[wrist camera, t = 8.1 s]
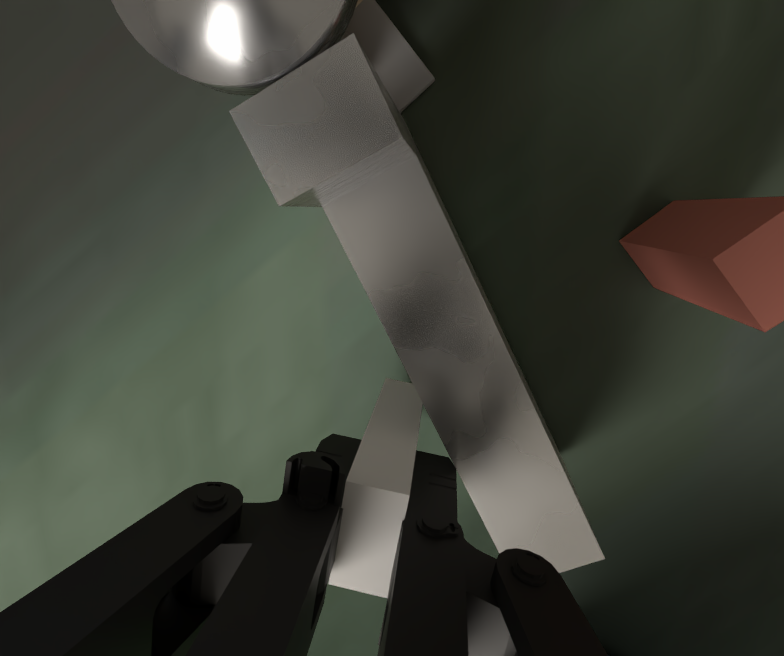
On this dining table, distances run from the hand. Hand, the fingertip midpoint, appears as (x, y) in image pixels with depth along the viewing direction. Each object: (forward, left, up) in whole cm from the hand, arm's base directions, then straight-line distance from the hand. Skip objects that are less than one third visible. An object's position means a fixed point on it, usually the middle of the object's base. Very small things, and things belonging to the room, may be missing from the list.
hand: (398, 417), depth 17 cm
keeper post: (-10, +1, -2) cm, 10 cm away
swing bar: (-4, -4, -1) cm, 6 cm away
